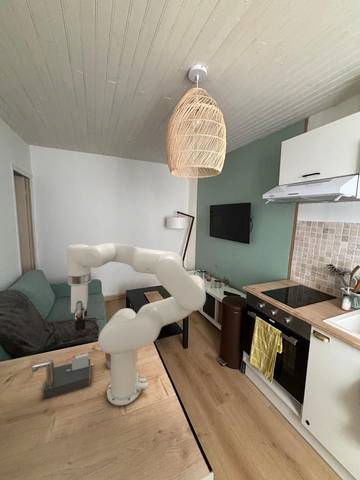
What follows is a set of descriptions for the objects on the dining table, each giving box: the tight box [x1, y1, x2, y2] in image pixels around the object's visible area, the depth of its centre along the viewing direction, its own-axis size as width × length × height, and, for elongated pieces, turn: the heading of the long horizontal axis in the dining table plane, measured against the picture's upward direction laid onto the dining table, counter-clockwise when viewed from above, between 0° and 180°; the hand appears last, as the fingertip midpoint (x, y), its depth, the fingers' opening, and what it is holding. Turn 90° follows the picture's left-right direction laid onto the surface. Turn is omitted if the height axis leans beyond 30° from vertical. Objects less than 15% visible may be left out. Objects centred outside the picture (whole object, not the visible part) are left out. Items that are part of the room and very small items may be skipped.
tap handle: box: [71, 352, 90, 371], centre depth 80 cm, size 6×2×5 cm, turn 113°
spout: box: [31, 359, 55, 387], centre depth 71 cm, size 7×2×9 cm, turn 113°
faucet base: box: [42, 358, 94, 400], centre depth 78 cm, size 17×11×4 cm, turn 113°
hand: (81, 322), depth 72 cm, fingers open, 9 cm apart
